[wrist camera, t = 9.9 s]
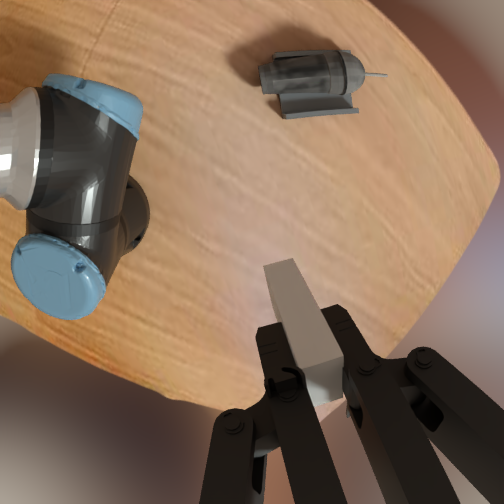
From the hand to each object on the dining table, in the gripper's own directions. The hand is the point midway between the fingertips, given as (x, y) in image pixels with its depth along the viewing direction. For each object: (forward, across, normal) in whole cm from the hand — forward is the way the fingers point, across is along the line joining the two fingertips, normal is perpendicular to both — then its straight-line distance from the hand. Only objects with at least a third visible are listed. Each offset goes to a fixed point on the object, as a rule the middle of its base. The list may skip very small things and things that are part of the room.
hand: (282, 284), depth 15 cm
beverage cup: (+32, +7, +12) cm, 35 cm away
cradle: (+34, +16, +10) cm, 39 cm away
